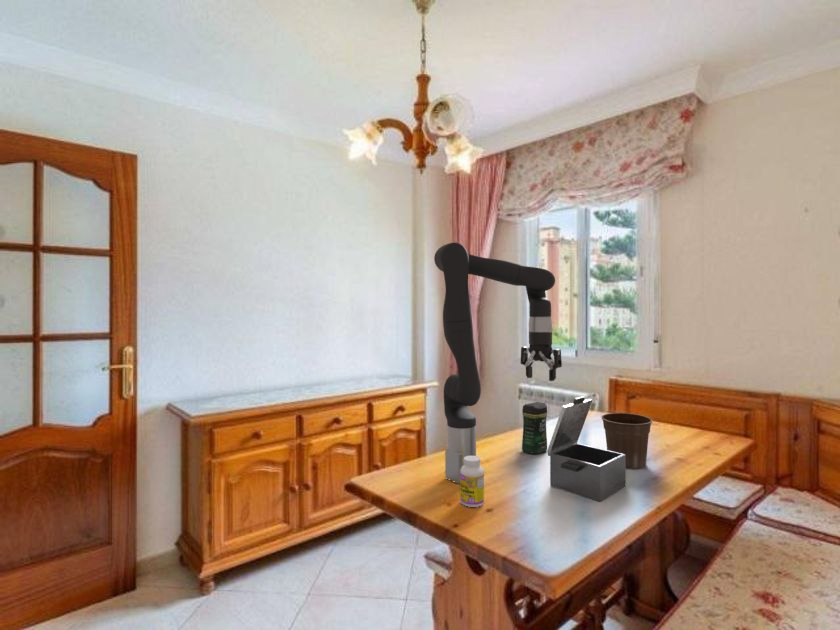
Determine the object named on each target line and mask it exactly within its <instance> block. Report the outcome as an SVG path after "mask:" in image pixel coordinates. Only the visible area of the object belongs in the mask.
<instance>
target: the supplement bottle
mask: <svg viewBox="0 0 840 630" xmlns="http://www.w3.org/2000/svg"><path fill="white" fill-rule="evenodd" d="M481 463H482V461H481V457H479V456H478V455H476V456H466V457H464V464H465V465H464V466H462V468H461V470H460V484H459V486H460V487H459V490H460V491H459V493H460V494H459V497H460V498H459V501H460V504H461V505H462V504H463V505H462V506H464V505H465V506H464V507H466V506H468V507H467V508H470V507H477V508H480V507H482V506H483V505H484V504H485V470H484V467H482V466H481ZM479 506H480V507H479Z"/></svg>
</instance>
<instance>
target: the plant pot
mask: <svg viewBox="0 0 840 630" xmlns="http://www.w3.org/2000/svg"><path fill="white" fill-rule="evenodd" d="M600 417H601V420H602V422H603V429H604V432H605V440H606V441H605V442H606V450H609V451H613V452H618V453H622V454H626V470H627V469H628V470H640V469H643V468H645V467H646V466H647V458H648V448H649V447H648V446H649V435H650V432H651V427H652V426H651V425H652V423H653V419H652V418H650V417H649V416H645V415H642V414H638V413H637V414H636V413H629V412H609V413H604V414H602V415H601V416H600Z"/></svg>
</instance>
